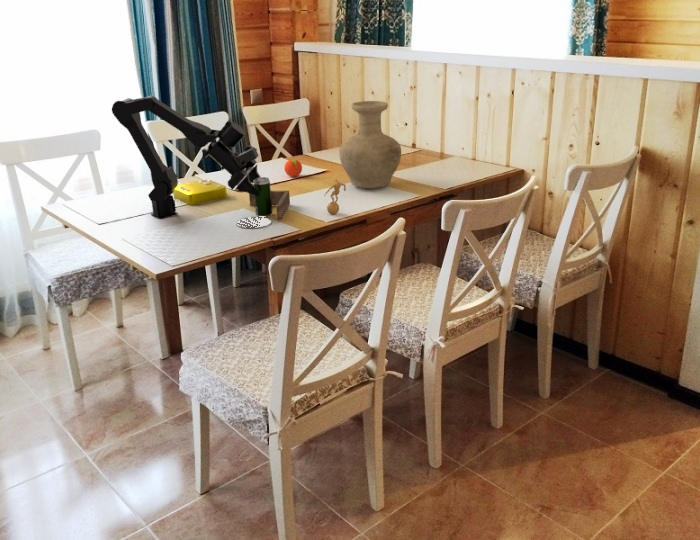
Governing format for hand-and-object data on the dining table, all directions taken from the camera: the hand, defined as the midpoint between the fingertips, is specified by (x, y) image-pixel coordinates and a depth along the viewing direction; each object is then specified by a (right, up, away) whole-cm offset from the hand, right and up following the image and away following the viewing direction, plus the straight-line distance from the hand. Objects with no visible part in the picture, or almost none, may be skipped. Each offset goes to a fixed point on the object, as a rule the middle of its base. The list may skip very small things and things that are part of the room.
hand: (262, 191), depth 221 cm
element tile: (-25, 0, +25) cm, 36 cm away
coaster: (-2, -11, -4) cm, 11 cm away
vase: (+36, +5, +32) cm, 49 cm away
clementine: (+6, +11, +47) cm, 49 cm away
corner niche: (0, -6, +6) cm, 9 cm away
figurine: (+23, -8, +2) cm, 25 cm away
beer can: (0, -8, +4) cm, 8 cm away
